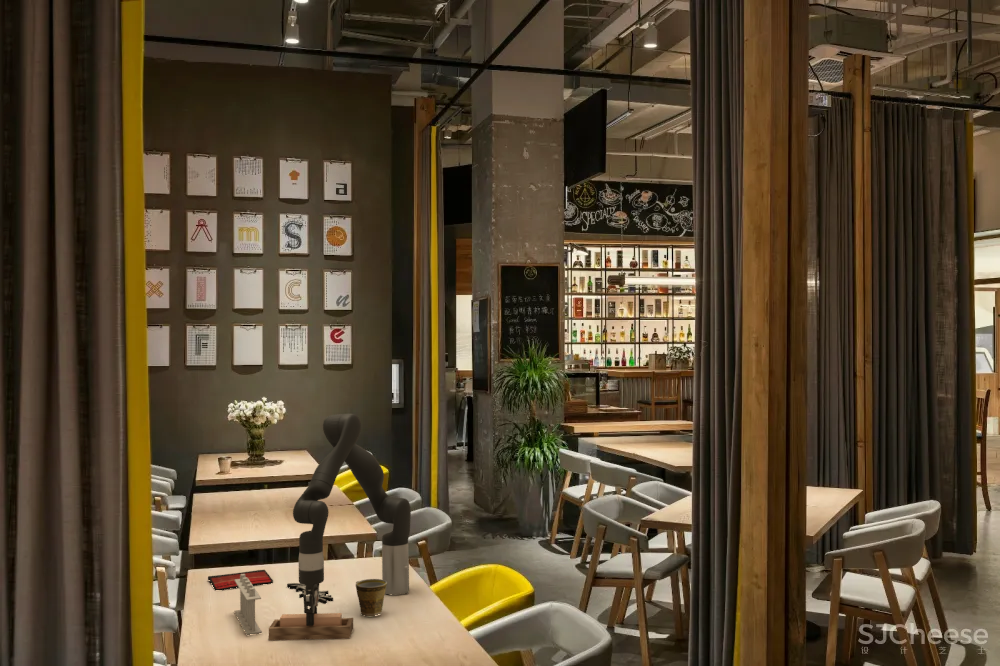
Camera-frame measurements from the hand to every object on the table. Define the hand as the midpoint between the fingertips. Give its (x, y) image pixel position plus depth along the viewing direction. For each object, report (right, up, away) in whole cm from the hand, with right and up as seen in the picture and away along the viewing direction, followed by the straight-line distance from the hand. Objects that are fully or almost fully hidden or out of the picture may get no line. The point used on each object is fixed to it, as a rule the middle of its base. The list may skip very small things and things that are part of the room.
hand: (311, 622), depth 268 cm
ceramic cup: (+14, -4, +21) cm, 25 cm away
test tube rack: (-23, -4, +12) cm, 26 cm away
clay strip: (0, -2, 0) cm, 2 cm away
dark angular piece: (-10, -5, +42) cm, 44 cm away
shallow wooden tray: (0, -4, 0) cm, 4 cm away
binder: (-39, -5, +58) cm, 70 cm away
